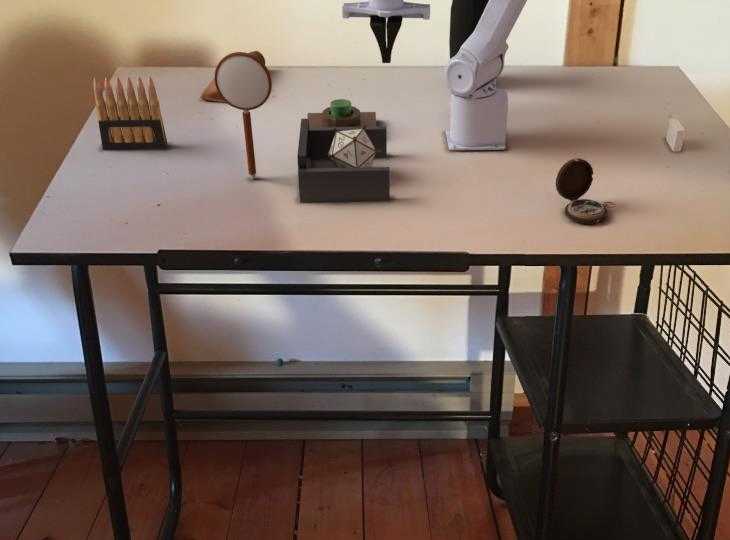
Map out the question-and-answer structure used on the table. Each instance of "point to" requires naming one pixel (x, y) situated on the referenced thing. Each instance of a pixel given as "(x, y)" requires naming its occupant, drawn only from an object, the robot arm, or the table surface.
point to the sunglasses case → (210, 90)
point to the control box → (342, 119)
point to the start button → (341, 108)
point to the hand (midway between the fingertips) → (386, 61)
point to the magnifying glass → (244, 91)
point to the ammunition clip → (129, 117)
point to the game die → (351, 149)
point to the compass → (579, 192)
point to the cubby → (340, 169)
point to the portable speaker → (464, 21)
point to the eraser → (675, 135)
